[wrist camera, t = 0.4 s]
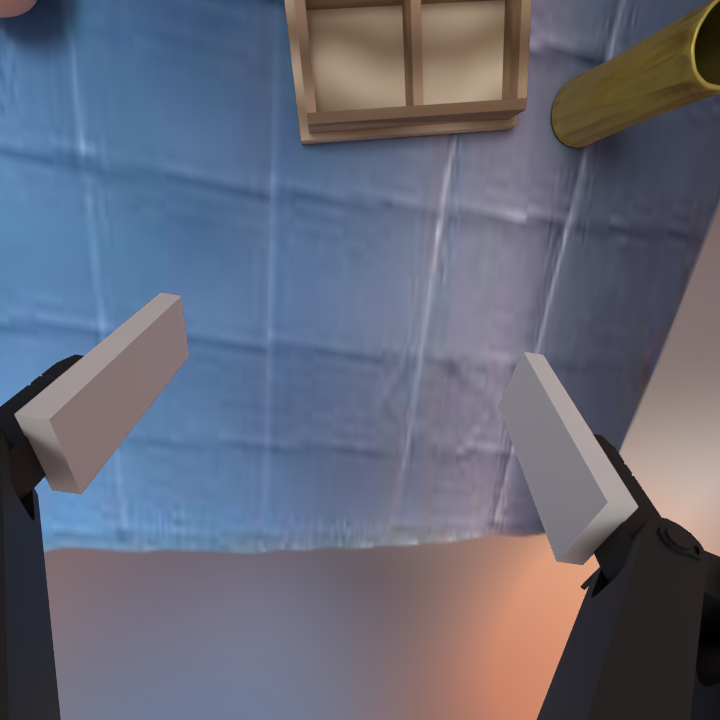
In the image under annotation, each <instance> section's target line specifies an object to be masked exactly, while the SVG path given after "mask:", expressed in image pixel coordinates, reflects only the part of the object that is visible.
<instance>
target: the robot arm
mask: <svg viewBox="0 0 720 720" xmlns="http://www.w3.org/2000/svg"><path fill="white" fill-rule="evenodd" d="M188 357H189V353H188V345H187V337H186V329H185V321H184V314H183V306H182V298H181V296H178V295H172V294H166V293H159V294H158V295H157V296H156V297H155V298H153V299H152V300H151V301H150V302H149V303H147V304H146V305H145V306H144V307H143V308H141V309H140V310H139V311H138V312H137V313H135V314H134V315H133V316H132V317H131V318H129V319H128V320H127V321H126V322H125V323H123V324H122V325H121V326H120V327H119V328H117V329H116V330H115V331H114V332H113V333H111V334H110V335H109V336H108V337H107V338H105V339H104V340H103V341H102V342H101V343H99V344H98V345H97V346H96V347H94V348H93V349H92V350H91V351H90V352H88V353H87V354H86V355H85V356H81V355H73V356H71V357H69V358H66V359H64V360H62V361H60V362H58V363H56V364H54V365H53V366H52V367H51V368H49V369H48V370H47V371H46V372H44V373H43V374H42V376H39V377H38V378H37V379H35V380H34V381H33V382H31V385H30V386H29V385H28V386H26V387H25V388H24V389H23V390H21V391H20V392H19V393H17V394H16V395H15V396H14V397H12V398H11V399H10V400H8V401H7V402H6V403H5V404H3V405H2V406H1V407H0V720H61V719H60V709H59V700H58V690H57V680H56V669H55V661H54V650H53V640H52V630H51V620H50V611H49V600H48V590H47V580H46V571H45V560H44V550H43V541H42V531H41V521H40V511H39V501H38V495H37V493H36V491H35V489H34V487H35V486H36V485H37V484H38V483H39V482H40V481H41V480H42V479H43V478H44V477H46V479H47V481H48V483H49V485H50V487H51V489H52V490H55V491H62V492H69V493H76V494H82V493H83V491H84V490H85V489H86V488H87V486H88V485H89V484H90V483H91V481H92V480H93V479H94V477H95V476H96V475H97V474H98V472H99V471H100V470H101V468H102V467H103V466H104V465H105V463H106V462H107V461H108V460H109V458H110V457H111V456H112V454H113V453H114V452H115V451H116V449H117V448H118V447H119V445H120V444H121V443H122V442H123V440H124V439H125V438H126V437H127V435H128V434H129V433H130V431H131V430H132V429H133V428H134V426H135V425H136V424H137V422H138V421H139V420H140V419H141V417H142V416H143V415H144V414H145V412H146V411H147V410H148V408H149V407H150V406H151V405H152V403H153V402H154V401H155V399H156V398H157V397H158V396H159V394H160V393H161V392H162V390H163V389H164V388H165V387H166V385H167V384H168V383H169V382H170V380H171V379H172V378H173V376H174V375H175V374H176V373H177V371H178V370H179V369H180V367H181V366H182V365H183V364H184V362H185V361H186V360H187V359H188ZM498 406H499V409H500V412H501V414H502V417H503V420H504V422H505V425H506V428H507V430H508V433H509V436H510V438H511V441H512V444H513V446H514V449H515V452H516V454H517V457H518V460H519V462H520V465H521V468H522V470H523V473H524V476H525V478H526V481H527V484H528V486H529V489H530V492H531V494H532V497H533V500H534V502H535V505H536V508H537V511H538V513H539V516H540V519H541V521H542V524H543V527H544V529H545V532H546V535H547V537H548V540H549V543H550V545H551V548H552V551H553V553H554V556H555V559H556V561H557V562H565V563H571V564H578V565H583V564H584V563H585V562H586V561H587V560H588V559H589V558H590V557H591V556H592V555H593V554H595V556H596V559H597V561H598V563H599V565H600V567H599V568H598V569H597V570H596V571H595V572H594V573H593V574H592V575H591V576H590V577H589V578H588V579H587V580H586V581H585V582H584V583H583V584H582V586H581V588H582V589H584V590H585V589H586V588H587V587H588V586H589V587H588V590H587V593H586V595H585V598H584V600H583V603H582V605H581V608H580V610H579V613H578V615H577V618H576V621H575V623H574V626H573V628H572V631H571V633H570V636H569V638H568V641H567V644H566V646H565V649H564V651H563V654H562V657H561V659H560V661H559V664H558V667H557V669H556V672H555V674H554V677H553V679H552V682H551V684H550V687H549V690H548V692H547V695H546V698H545V700H544V702H543V705H542V707H541V710H540V713H539V715H538V718H537V720H720V557H719V556H716V555H714V554H711V553H709V552H707V551H704V549H703V548H702V546H701V544H700V543H699V542H698V541H697V540H696V538H695V537H694V536H693V535H692V534H691V533H690V532H688V531H687V530H685V529H684V528H683V527H681V526H680V525H678V524H677V523H675V522H672V521H670V520H669V519H666V518H661V516H660V515H659V513H658V512H657V510H656V509H655V507H654V506H653V504H652V503H651V501H650V500H649V498H648V497H647V495H646V494H645V492H644V491H643V489H642V488H641V486H640V485H639V483H638V482H637V480H636V479H635V477H634V476H632V473H631V471H630V470H629V468H628V467H627V465H625V464H624V461H623V459H622V458H621V456H620V455H619V453H618V452H617V450H616V449H615V448H614V447H613V446H612V445H611V444H610V443H609V442H608V441H607V440H606V439H605V438H604V437H602V436H601V435H596V434H592V432H591V430H590V429H589V427H588V426H587V424H586V423H585V421H584V419H583V418H582V416H581V415H580V413H579V411H578V410H577V408H576V407H575V405H574V403H573V402H572V400H571V399H570V397H569V395H568V394H567V392H566V391H565V389H564V388H563V386H562V384H561V383H560V381H559V380H558V378H557V376H556V375H555V373H554V372H553V370H552V368H551V367H550V365H549V364H548V362H547V360H546V359H545V357H544V356H543V355H540V354H534V353H528V352H523V355H522V357H521V359H520V361H519V363H518V365H517V367H516V369H515V371H514V373H513V375H512V377H511V379H510V382H509V384H508V386H507V388H506V390H505V392H504V394H503V396H502V398H501V400H500V402H499V404H498Z"/></svg>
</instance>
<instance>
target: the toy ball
mask: <svg viewBox="0 0 720 720" xmlns="http://www.w3.org/2000/svg"><path fill="white" fill-rule="evenodd" d="M36 2H37V0H0V17H1V18H8V17H15V16H19V15H22V14H24V13H26V12H27V11H29V10H30V9H31V8H32V7H33V6H34V5H35V4H36Z"/></svg>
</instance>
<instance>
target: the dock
mask: <svg viewBox="0 0 720 720" xmlns="http://www.w3.org/2000/svg"><path fill="white" fill-rule="evenodd" d="M284 1H285V9H286V18H287V26H288V35H289V43H290V52H291V60H292V69H293V77H294V86H295V94H296V103H297V111H298V119H299V128H300V136H301V143H302V144H315V143H329V142H343V141H356V140H370V139H384V138H397V137H411V136H425V135H438V134H452V133H466V132H479V131H493V130H507V129H511V128H513V127H515V126H517V125H518V114H519V113H520V112H522V111H524V110H525V109H526V101H527V81H528V62H529V43H530V23H531V4H532V0H284Z"/></svg>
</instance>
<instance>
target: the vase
mask: <svg viewBox="0 0 720 720" xmlns="http://www.w3.org/2000/svg"><path fill="white" fill-rule="evenodd" d="M719 93H720V0H710V1H708V2H707V3H705V4H703V5H702V6H700V7H698V8H697V9H695V10H693V11H691V12H690V13H688V14H686V15H685V16H683V17H681V18H680V19H678V20H676V21H675V22H673V23H672V24H670V25H668V26H667V27H665V28H663V29H662V30H660V31H658V32H657V33H655V34H653V35H652V36H650V37H648V38H646V39H645V40H643V41H641V42H639V43H638V44H636V45H634V46H633V47H631V48H629V49H628V50H626V51H624V52H623V53H621V54H620V55H618V56H616V57H615V58H613V59H611V60H609V61H607V62H605V63H603V64H601V65H599V66H597V67H595V68H593V69H592V70H590V71H588V72H586V73H583V74H581V75H578V76H576V77H574V78H572V79H571V80H569V81H568V82H567V83H566V84H565V85H564V86H563V87H562V88H561V90H560V91H559V93H558V95H557V97H556V99H555V101H554V104H553V107H552V116H551V119H552V126H553V130H554V132H555V134H556V136H557V137H558V139H559V140H560V141H561V142H563V143H564V144H565V145H567V146H570V147H576V148H580V147H584V146H587V145H590V144H592V143H594V142H595V141H597V140H600V139H602V138H604V137H607V136H610V135H612V134H615V133H617V132H620V131H622V130H624V129H627V128H629V127H631V126H634V125H636V124H639V123H641V122H644V121H646V120H648V119H651V118H653V117H655V116H658V115H660V114H663V113H666V112H668V111H671V110H674V109H677V108H679V107H682V106H685V105H688V104H690V103H693V102H696V101H699V100H702V99H705V98H708V97H711V96H713V95H716V94H719Z"/></svg>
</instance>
